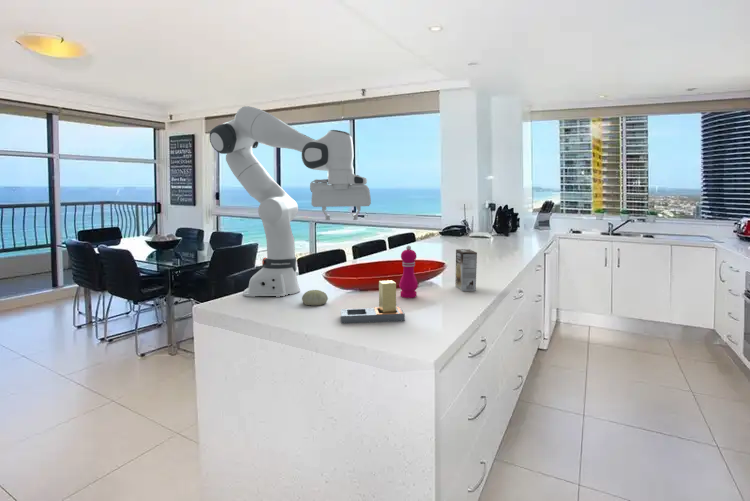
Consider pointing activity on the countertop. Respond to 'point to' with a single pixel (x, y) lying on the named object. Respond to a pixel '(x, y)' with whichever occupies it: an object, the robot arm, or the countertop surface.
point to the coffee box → (466, 269)
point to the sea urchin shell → (314, 298)
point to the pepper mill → (408, 274)
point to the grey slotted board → (370, 315)
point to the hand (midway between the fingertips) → (341, 220)
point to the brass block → (387, 296)
